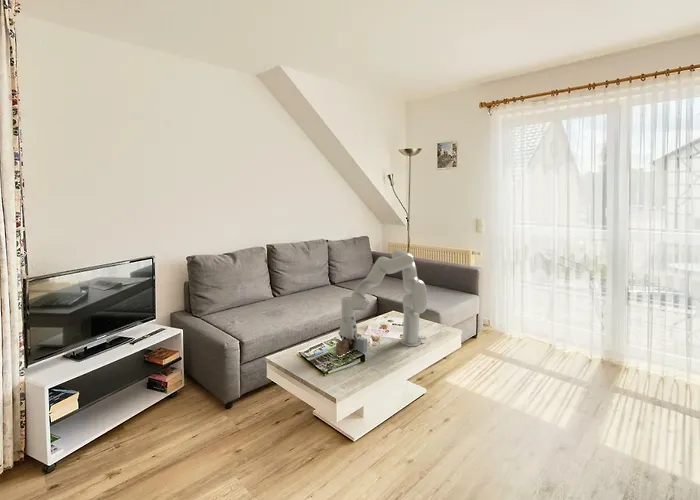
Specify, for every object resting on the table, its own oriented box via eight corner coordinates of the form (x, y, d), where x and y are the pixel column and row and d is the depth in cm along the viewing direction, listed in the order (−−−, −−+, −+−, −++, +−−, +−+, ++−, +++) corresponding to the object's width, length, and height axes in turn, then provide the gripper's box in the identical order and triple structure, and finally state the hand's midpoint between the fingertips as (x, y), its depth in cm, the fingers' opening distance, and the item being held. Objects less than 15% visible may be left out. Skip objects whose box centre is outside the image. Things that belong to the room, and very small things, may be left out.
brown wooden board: (357, 345, 237) (357, 333, 235) (361, 347, 235) (361, 334, 233) (336, 356, 223) (336, 343, 221) (340, 358, 221) (340, 344, 219)
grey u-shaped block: (343, 345, 237) (343, 333, 235) (346, 344, 239) (346, 331, 238) (363, 353, 227) (363, 340, 225) (366, 351, 229) (367, 338, 227)
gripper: (363, 320, 222) (363, 350, 225) (341, 313, 233) (341, 342, 236) (355, 323, 216) (354, 354, 219) (332, 316, 227) (333, 346, 230)
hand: (347, 347), depth 228 cm, fingers open, 4 cm apart
